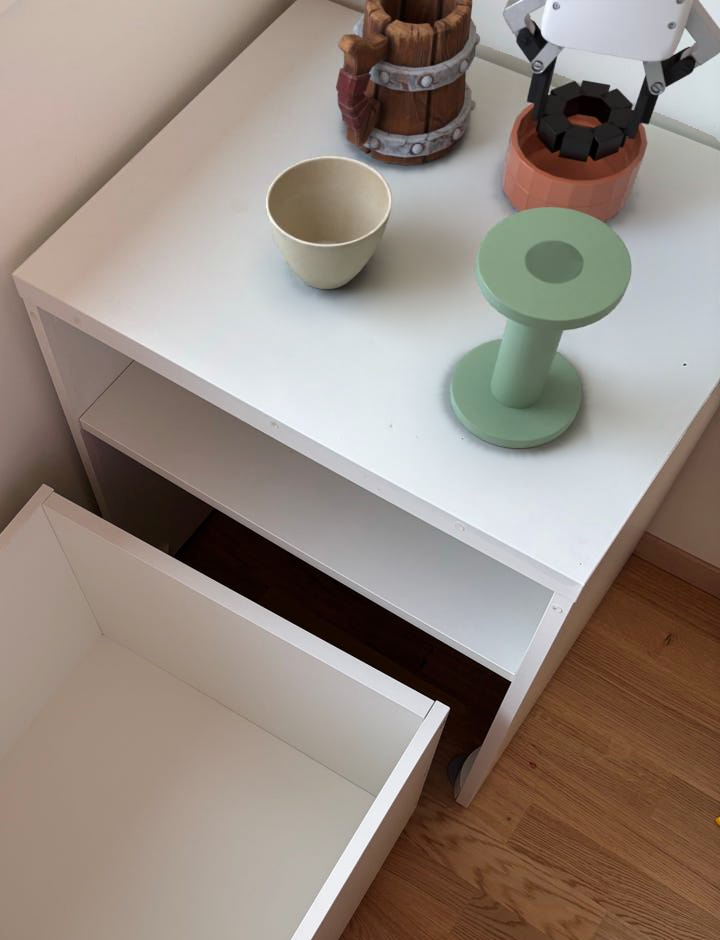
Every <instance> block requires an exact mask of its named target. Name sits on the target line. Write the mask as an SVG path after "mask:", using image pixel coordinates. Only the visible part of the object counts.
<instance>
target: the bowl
mask: <svg viewBox="0 0 720 940" xmlns="http://www.w3.org/2000/svg"><path fill="white" fill-rule="evenodd" d="M533 106H534V103H530V104H528V105H527V106H526V107H525V108H524V109H522V111H521V112H520V113H519V114H518V115H517V116H516V117H515V120H514V122H513V124H512V128H511V131H510V135H509V140H508V144H507V149H506V152H505V153H506V154H505V158H504V163H503V166H502V167H503V168H502V172H501V182H502V183H501V184H502V190H503V192H504V195H505V196H506V198H507V200H508V202H509V203H510V205H511V206H513V208H515V209H516V210H517V212H521V211H524V210H528V209H533V208H541V207H557V208H566V209H572V210H575V211H579V212H582V213H585V214H588V215H590V216H592V217H594V218H596V219H598V220H600V221H602V222H603V223H605V221H607V220H609V219H611V218H612V217H614V216H616V215H617V214H618V213H619V212H620V211H621V210H622V209H623V207H624V206H625V205H626V204H627V203H628V201H629V198H630V196H631V193H632V190H633V188H634V185H635V182H636V179H637V176H638V173H639V171H640V169H641V166H642V163H643V160H644V157H645V154H646V150H647V147H648V139H647V138H648V137H647V133H646V128H645V126H644V124H643V123H640V124H639V127H638V130H637V133H636V136H635V139H629V138H628V136H627V137H626V141H625V144H624V147H623V148H621V147H620V148H619V151H618V152H617V153H615V154H612V155H610V156H607V157H605V158H602V159H600V160H597V161H593V160H592V159H591V157H590V156H588V159H587V162H581V161H576V160H571V159H566V158H561V157H558V156H559V152H560V151H557V152H554V153H551V152H550V151H549V150H548V149H547V148H546V147H545V146H544V144H543V143H542V142H541V141H540V140H539V139H538V138H537V134H538V132H536V126H537V122H538V119H537V121H534V120H531V115H532V111H533ZM567 119H568V120H569V121H570V122H571V123H572V124H573V125H578V126H584V127H589V128H593V127H596V126H598V125H601V123H600V122H599V120H598V119H597V118H596V117H591V116H585V115H580V114H577V115H574V116H572V117H569V118H567Z"/></svg>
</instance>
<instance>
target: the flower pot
mask: <svg viewBox="0 0 720 940" xmlns="http://www.w3.org/2000/svg"><path fill="white" fill-rule="evenodd" d="M392 207H393V194H392V190H391V187H390V185H389V183H388V182H387V181H386V179H385V177H384V176H383V174H381V173H380V172H379V171H378V170H376V169H375V168H374V167H372V166H371V165H369V164H367V163H365V162H363V161H361V160H357V159H355V158H351V157H347V156H340V155H322V156H316V157H311V158H307V159H303V160H301V161H298V162H296V163H294V164H292V165H290V166H288V167H287V168H285V169H284V170H283V171H281V172H280V173H279V174H278V175H277V176H276V177H275V178H274V179H273V181H272V183H270V186H269V187H268V190H267V192H266V197H265V209H266V214H267V220H268V224H269V227H270V230H271V231H270V232H271V233H272V236H273V239H274V242H275V244H276V246H277V248H278V250H279V252H280V254H281V256H282V258H283V259H284V260H285V262H286V263H287V265H288V267H290V268H291V270H292V271H293V272H294V274H295V275H296V276H297V277H298V278H299V279H300V280H301V281H302V282H304V283H305V284H306V285H308V286H310V287H312V288H315V289H318V290H319V289H320V290H333V289H337V288H340V287H343V286H345V285H346V284H348V283H349V282H351V280H352V279H354V278H355V277H356V276H357V275H358V274H359V273H360V272H361V271H362V270H363V268H364V267H365V266H366V264H367V263H368V262H369V260H370V259H371V257H372V256H373V255H374V253H375V251H376V250H377V248H378V246H379V244H380V242H381V240H382V238H383V236H384V233H385V230H386V228H387V226H388V223H389V219H390V215H391V212H392Z"/></svg>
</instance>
